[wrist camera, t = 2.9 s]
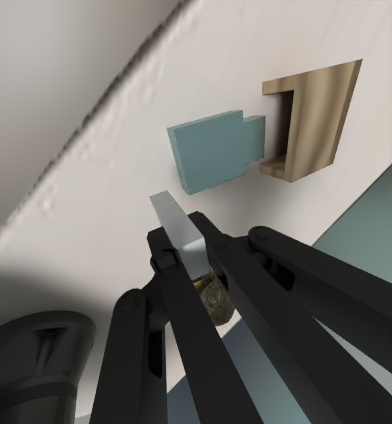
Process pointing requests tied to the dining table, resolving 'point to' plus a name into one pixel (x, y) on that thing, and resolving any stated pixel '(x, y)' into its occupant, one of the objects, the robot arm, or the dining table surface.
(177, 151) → the teal tabbed plate
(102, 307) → the dining table surface
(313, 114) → the overhang
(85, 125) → the dining table surface
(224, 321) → the turtle shell
